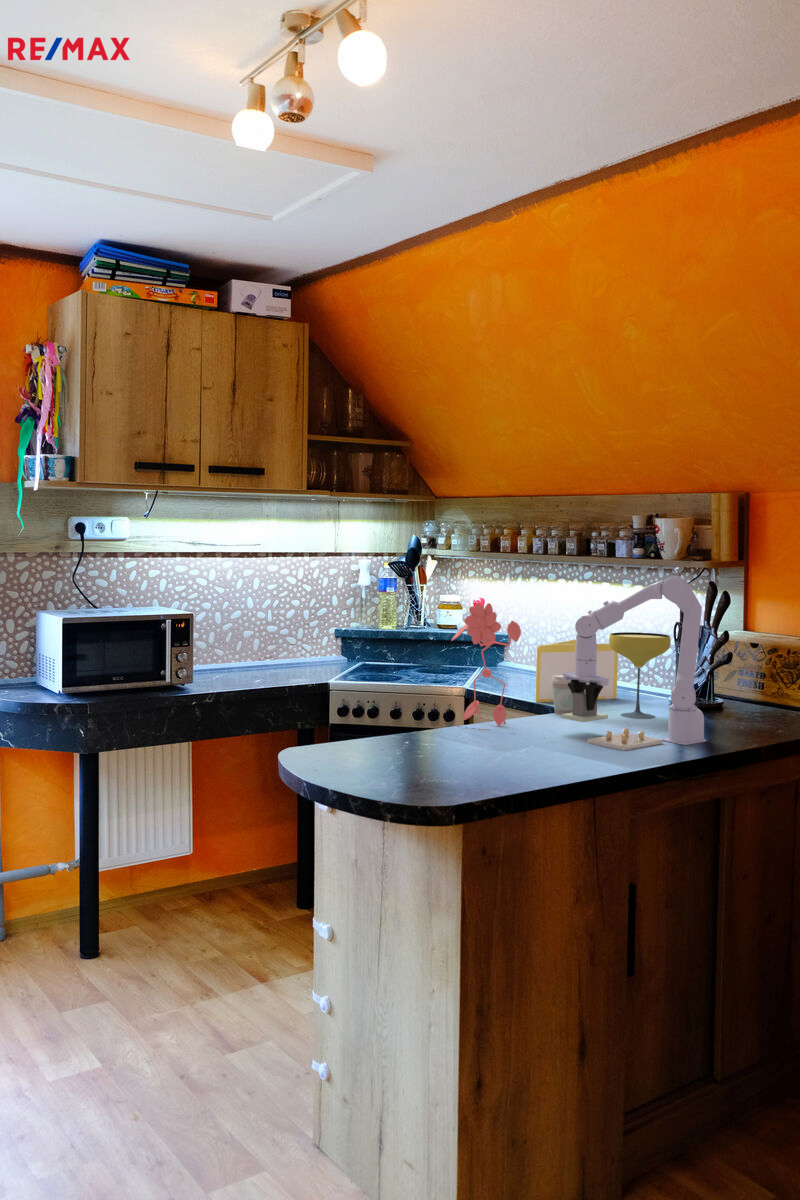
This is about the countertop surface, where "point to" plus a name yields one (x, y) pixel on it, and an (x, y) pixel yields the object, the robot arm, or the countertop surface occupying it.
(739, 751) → the countertop surface
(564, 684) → the coffee cup
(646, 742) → the plate
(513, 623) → the figurine
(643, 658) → the cocktail glass
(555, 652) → the tabletop whiteboard
